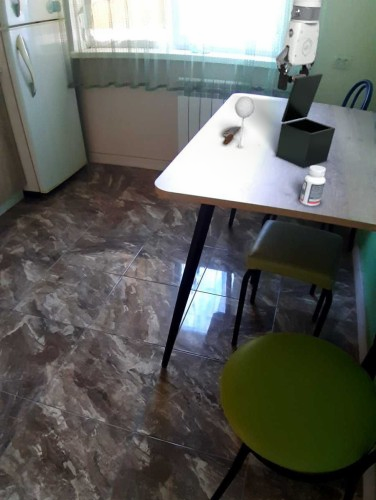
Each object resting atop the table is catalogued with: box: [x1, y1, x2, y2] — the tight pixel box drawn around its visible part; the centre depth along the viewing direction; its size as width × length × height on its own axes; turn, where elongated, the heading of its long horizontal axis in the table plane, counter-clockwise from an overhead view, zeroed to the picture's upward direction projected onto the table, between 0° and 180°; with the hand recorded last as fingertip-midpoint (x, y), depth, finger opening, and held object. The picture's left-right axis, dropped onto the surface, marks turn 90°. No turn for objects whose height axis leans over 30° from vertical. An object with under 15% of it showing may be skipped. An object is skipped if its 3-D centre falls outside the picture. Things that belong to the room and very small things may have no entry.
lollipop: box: [234, 96, 255, 148], centre depth 131 cm, size 6×6×15 cm
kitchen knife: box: [222, 126, 241, 145], centre depth 144 cm, size 21×2×5 cm
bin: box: [275, 117, 336, 169], centre depth 127 cm, size 12×11×10 cm
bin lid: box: [280, 73, 323, 123], centre depth 123 cm, size 12×11×5 cm
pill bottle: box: [299, 164, 327, 207], centre depth 105 cm, size 5×5×9 cm
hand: (291, 87), depth 123 cm, fingers open, 8 cm apart
